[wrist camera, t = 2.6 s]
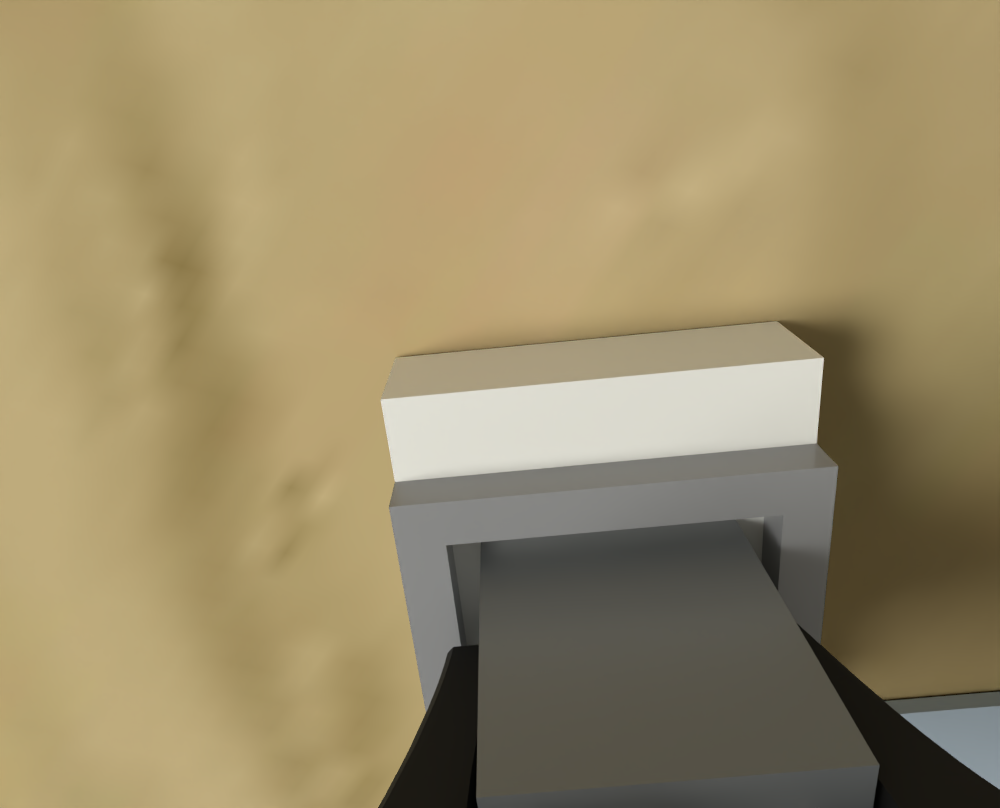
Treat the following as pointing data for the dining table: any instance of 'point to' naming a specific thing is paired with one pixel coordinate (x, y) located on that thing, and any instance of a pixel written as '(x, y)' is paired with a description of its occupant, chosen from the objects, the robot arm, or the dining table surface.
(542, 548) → the block
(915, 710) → the mat
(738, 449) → the power strip
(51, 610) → the dining table surface
